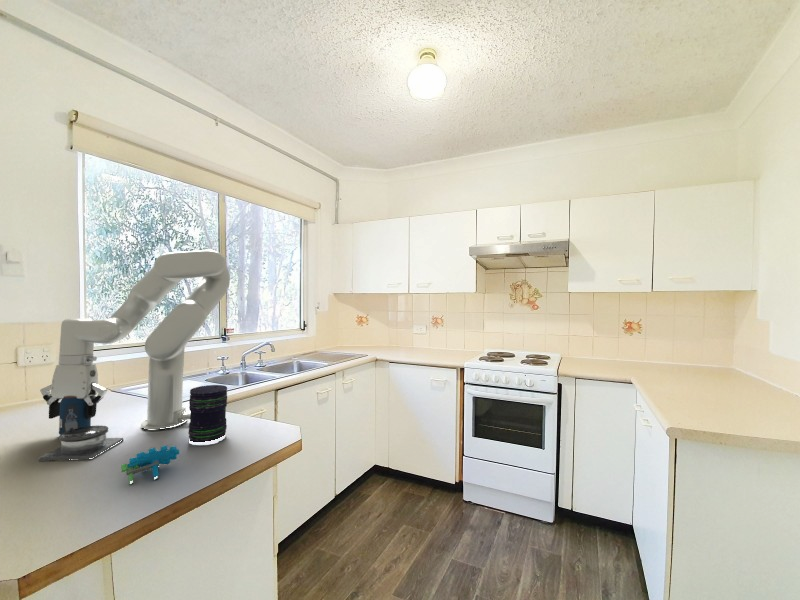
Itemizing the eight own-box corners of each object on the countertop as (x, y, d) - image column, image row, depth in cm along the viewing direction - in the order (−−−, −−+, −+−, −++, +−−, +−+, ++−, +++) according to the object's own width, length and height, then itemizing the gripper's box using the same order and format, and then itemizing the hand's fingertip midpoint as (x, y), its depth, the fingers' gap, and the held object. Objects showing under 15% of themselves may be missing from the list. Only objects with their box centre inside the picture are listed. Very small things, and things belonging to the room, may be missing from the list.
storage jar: (209, 448, 98) (211, 394, 98) (179, 444, 100) (181, 391, 100) (233, 435, 108) (234, 386, 108) (205, 432, 110) (206, 383, 110)
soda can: (85, 428, 110) (86, 390, 110) (94, 433, 107) (95, 393, 107) (55, 435, 104) (56, 395, 104) (63, 441, 101) (65, 398, 101)
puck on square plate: (123, 441, 101) (123, 423, 101) (91, 459, 89) (92, 440, 89) (77, 442, 100) (77, 424, 100) (39, 461, 88) (39, 441, 88)
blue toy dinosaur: (180, 455, 89) (177, 438, 83) (183, 478, 86) (180, 462, 80) (125, 472, 83) (117, 455, 77) (126, 498, 80) (118, 481, 74)
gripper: (116, 358, 110) (112, 414, 110) (55, 357, 108) (51, 413, 108) (98, 362, 103) (94, 422, 102) (32, 361, 101) (28, 421, 100)
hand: (72, 417), depth 105 cm, fingers open, 9 cm apart
